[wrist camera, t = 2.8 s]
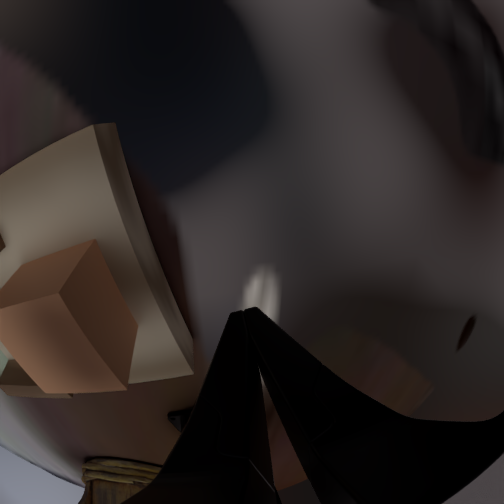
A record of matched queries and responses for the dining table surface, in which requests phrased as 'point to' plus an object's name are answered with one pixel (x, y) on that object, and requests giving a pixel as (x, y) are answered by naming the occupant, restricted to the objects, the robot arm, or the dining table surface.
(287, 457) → the dining table surface
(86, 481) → the tankard
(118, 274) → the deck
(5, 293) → the block
